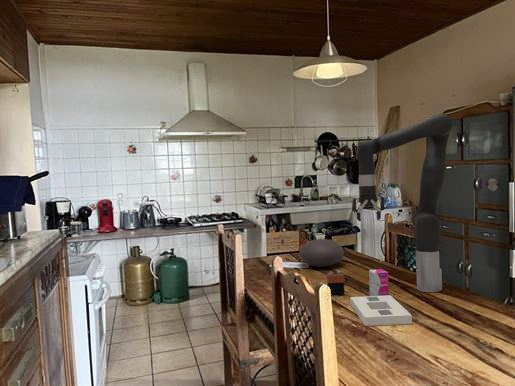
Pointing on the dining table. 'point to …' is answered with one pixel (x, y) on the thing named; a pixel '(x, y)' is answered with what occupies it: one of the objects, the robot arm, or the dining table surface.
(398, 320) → the light grey flat block
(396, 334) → the dining table surface
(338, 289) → the battery
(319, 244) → the smooth stone
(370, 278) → the supplement box
